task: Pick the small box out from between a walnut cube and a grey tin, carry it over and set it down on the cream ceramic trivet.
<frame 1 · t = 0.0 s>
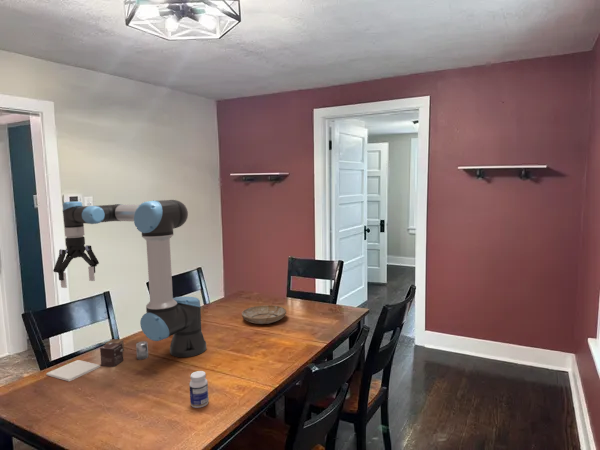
hand: (78, 284, 182), 28 cm above the table, fingers open, 13 cm apart
box: (112, 363, 164), on the table
ceramic bowl: (264, 320, 213), on the table
walnut cube: (115, 352, 175), on the table
trivet: (73, 371, 158), on the table
pill bottle: (199, 404, 132), on the table
grey tin: (142, 357, 169), on the table
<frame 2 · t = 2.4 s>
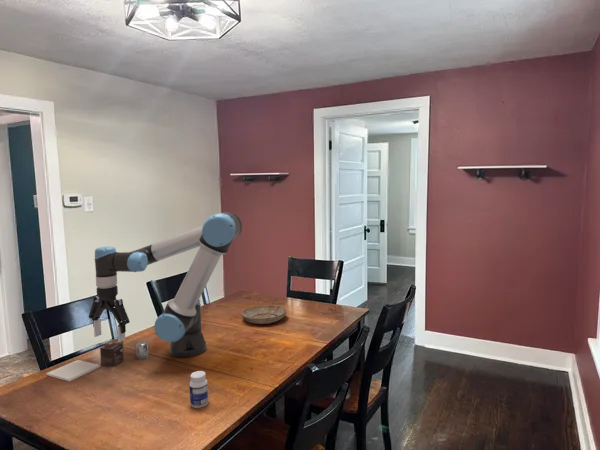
hand: (109, 338, 163), 10 cm above the table, fingers open, 13 cm apart
nothing on the table moved.
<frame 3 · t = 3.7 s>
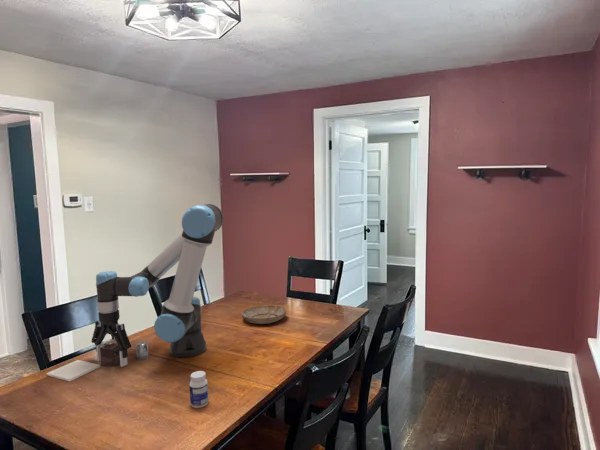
hand: (112, 362, 164), 0 cm above the table, fingers open, 12 cm apart
nothing on the table moved.
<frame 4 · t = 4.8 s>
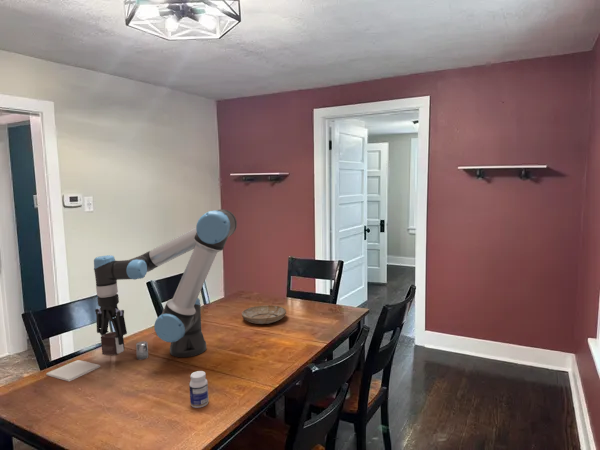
hand: (113, 350, 164), 5 cm above the table, fingers closed on box, 7 cm apart
box: (113, 352, 164), point 4 cm above the table, touching gripper
everything else where it was.
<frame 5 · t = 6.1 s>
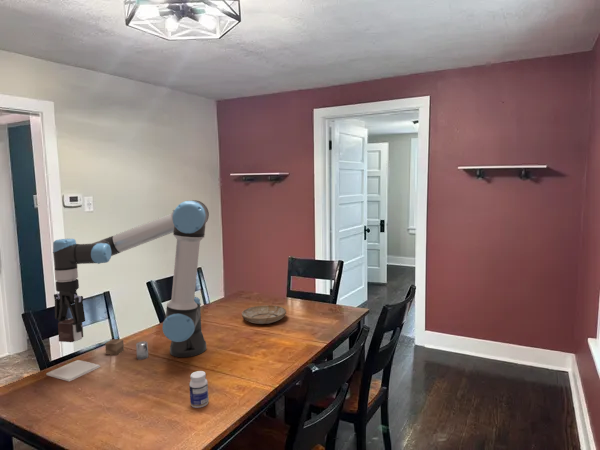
hand: (71, 338, 157), 13 cm above the table, fingers closed on box, 7 cm apart
box: (71, 340, 157), point 12 cm above the table, touching gripper
everything else where it was.
when the fingers open (1 cm above the table, at t = 7.7 s): box stays where it is, resting on trivet.
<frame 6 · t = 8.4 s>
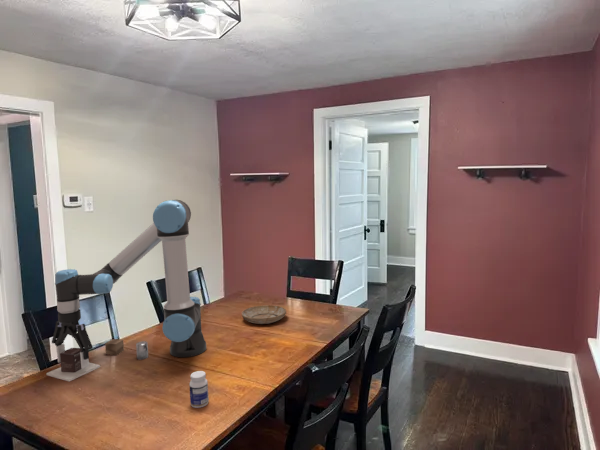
hand: (73, 364, 158), 3 cm above the table, fingers open, 13 cm apart
box: (73, 369, 158), point 1 cm above the table, touching trivet
everything else where it was.
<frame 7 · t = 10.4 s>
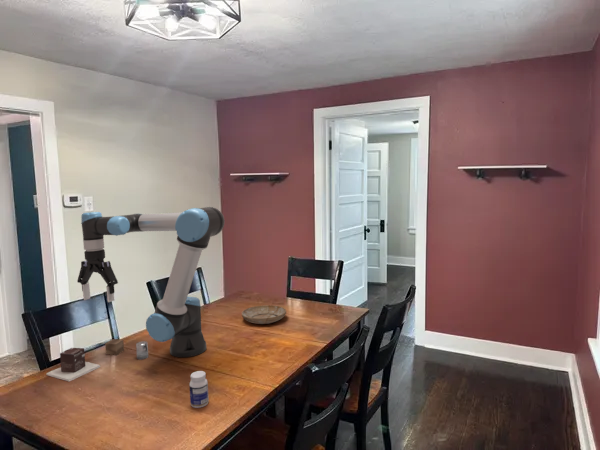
hand: (98, 300, 170), 24 cm above the table, fingers open, 13 cm apart
nothing on the table moved.
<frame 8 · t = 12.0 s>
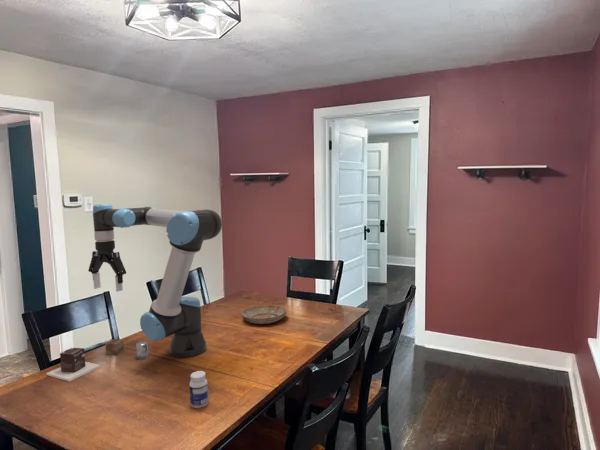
hand: (108, 289, 176), 27 cm above the table, fingers open, 13 cm apart
nothing on the table moved.
at the end: box inside the target area on the trivet (0.0 cm from its centre), point 0.6 cm above the trivet's base; box tilted 0°; the gripper is holding nothing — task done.
